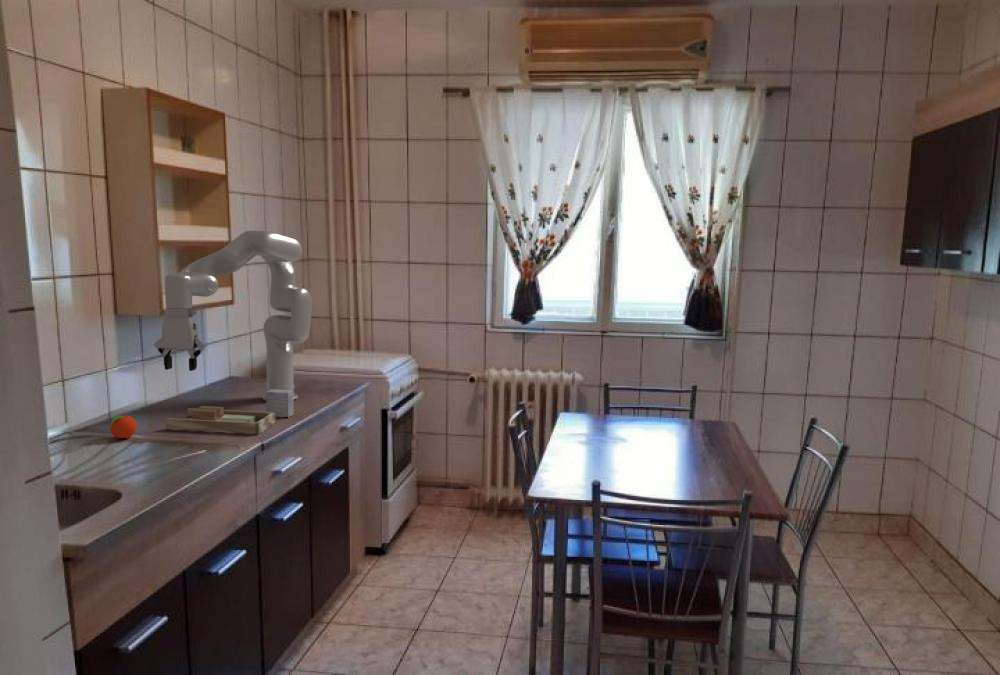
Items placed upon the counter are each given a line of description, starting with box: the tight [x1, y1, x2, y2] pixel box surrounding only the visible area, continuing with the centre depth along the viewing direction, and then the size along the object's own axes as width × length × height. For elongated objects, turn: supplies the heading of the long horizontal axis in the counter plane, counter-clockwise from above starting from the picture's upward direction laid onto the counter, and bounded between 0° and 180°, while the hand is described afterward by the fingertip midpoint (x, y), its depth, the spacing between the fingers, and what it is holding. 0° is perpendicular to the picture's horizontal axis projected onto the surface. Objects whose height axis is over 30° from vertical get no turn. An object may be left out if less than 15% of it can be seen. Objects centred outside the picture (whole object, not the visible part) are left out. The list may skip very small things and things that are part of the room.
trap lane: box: [165, 407, 277, 436], centre depth 213 cm, size 14×29×4 cm, turn 87°
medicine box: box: [265, 390, 294, 419], centre depth 228 cm, size 8×4×9 cm, turn 84°
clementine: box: [109, 414, 138, 439], centre depth 196 cm, size 8×7×7 cm
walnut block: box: [193, 405, 225, 421], centre depth 213 cm, size 6×7×3 cm
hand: (180, 369), depth 212 cm, fingers open, 7 cm apart
